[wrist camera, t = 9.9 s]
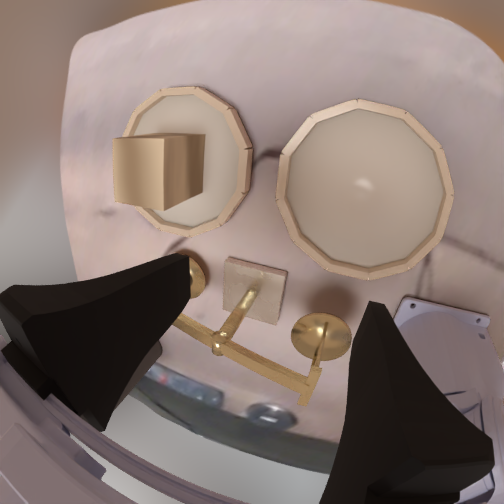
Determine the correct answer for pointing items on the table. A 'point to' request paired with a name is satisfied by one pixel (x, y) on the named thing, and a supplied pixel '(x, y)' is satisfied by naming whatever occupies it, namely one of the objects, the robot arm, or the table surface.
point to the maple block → (158, 169)
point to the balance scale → (266, 310)
